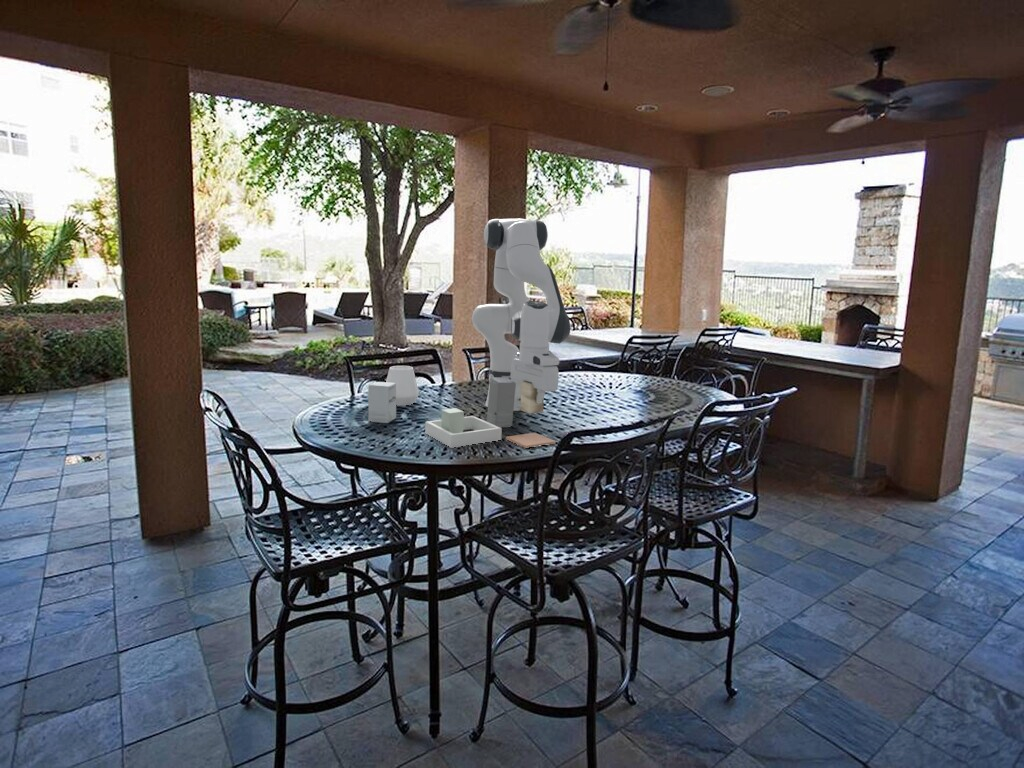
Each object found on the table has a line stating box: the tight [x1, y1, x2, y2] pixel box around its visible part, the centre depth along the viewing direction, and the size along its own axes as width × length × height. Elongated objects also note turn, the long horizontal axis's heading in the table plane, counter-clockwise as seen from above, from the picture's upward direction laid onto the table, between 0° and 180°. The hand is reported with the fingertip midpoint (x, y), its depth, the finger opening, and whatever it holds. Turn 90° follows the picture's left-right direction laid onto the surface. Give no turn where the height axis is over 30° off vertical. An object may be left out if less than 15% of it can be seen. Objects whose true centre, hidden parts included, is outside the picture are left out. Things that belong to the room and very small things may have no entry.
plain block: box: [440, 407, 465, 434], centre depth 192 cm, size 5×5×9 cm
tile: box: [505, 432, 556, 449], centre depth 192 cm, size 11×11×1 cm
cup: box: [385, 365, 420, 407], centre depth 237 cm, size 13×13×14 cm
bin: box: [424, 415, 503, 449], centre depth 194 cm, size 17×17×4 cm
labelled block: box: [520, 380, 545, 414], centre depth 189 cm, size 5×5×9 cm
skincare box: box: [486, 377, 516, 428], centre depth 210 cm, size 8×7×16 cm
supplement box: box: [367, 381, 397, 424], centre depth 211 cm, size 7×7×13 cm
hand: (532, 401), depth 189 cm, fingers closed on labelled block, 5 cm apart
